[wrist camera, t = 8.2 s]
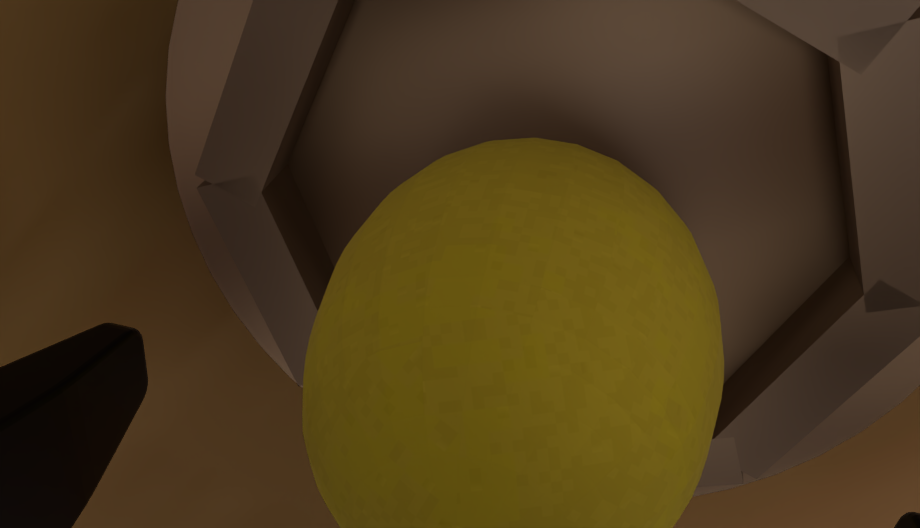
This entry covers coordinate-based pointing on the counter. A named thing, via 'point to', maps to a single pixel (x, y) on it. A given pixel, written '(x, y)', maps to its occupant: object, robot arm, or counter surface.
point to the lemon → (515, 350)
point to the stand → (604, 131)
